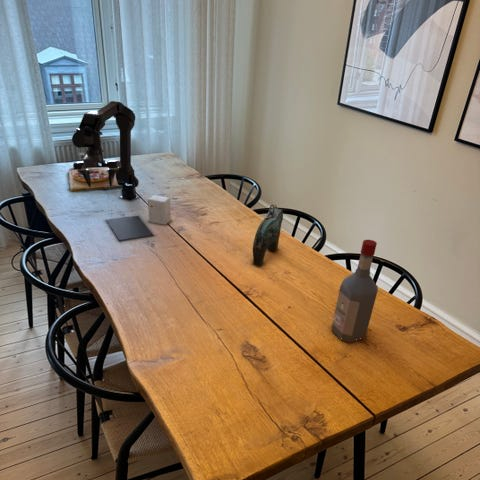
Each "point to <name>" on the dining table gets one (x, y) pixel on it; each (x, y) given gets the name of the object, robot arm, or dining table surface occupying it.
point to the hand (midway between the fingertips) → (100, 186)
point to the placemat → (129, 228)
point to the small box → (159, 209)
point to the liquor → (356, 299)
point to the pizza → (97, 178)
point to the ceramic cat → (267, 235)
